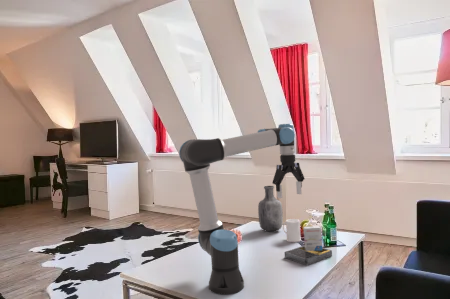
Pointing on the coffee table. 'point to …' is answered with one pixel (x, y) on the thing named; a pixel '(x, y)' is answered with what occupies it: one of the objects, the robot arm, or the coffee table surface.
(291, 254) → the tray
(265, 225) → the vase
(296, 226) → the mug
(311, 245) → the ink box
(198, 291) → the coffee table surface
